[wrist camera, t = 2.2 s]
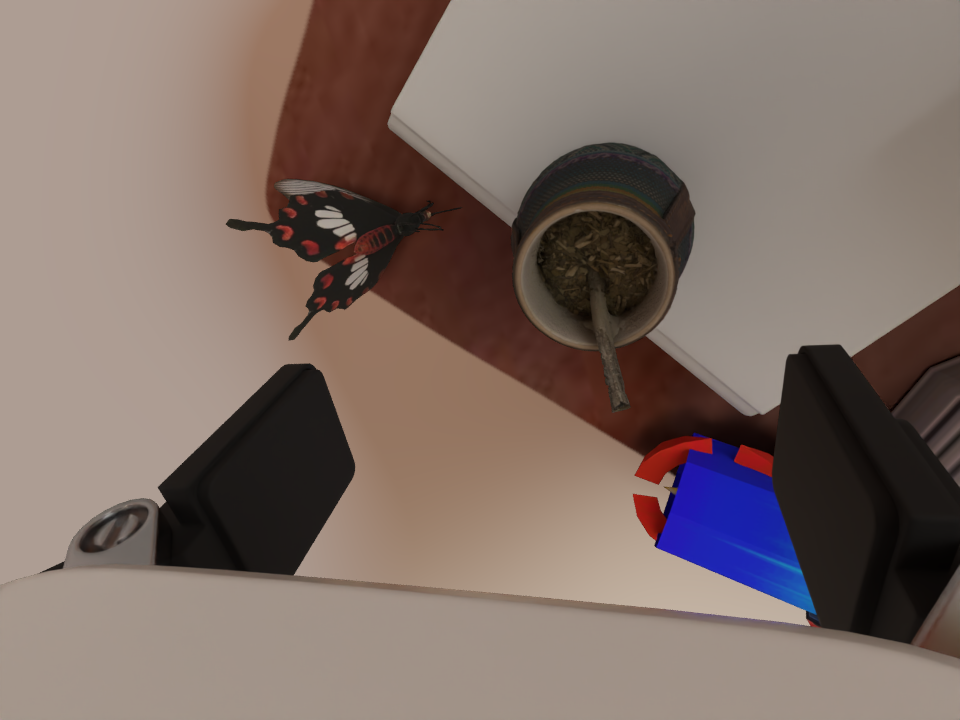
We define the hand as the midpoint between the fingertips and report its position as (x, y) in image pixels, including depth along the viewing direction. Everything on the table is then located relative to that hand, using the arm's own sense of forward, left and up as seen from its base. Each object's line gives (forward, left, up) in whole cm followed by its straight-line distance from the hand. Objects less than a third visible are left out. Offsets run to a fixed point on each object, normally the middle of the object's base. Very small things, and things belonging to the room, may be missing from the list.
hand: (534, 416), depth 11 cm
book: (-3, -5, -20) cm, 21 cm away
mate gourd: (-1, 0, -16) cm, 16 cm away
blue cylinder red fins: (-22, +9, -15) cm, 28 cm away
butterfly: (+8, +5, -13) cm, 16 cm away
